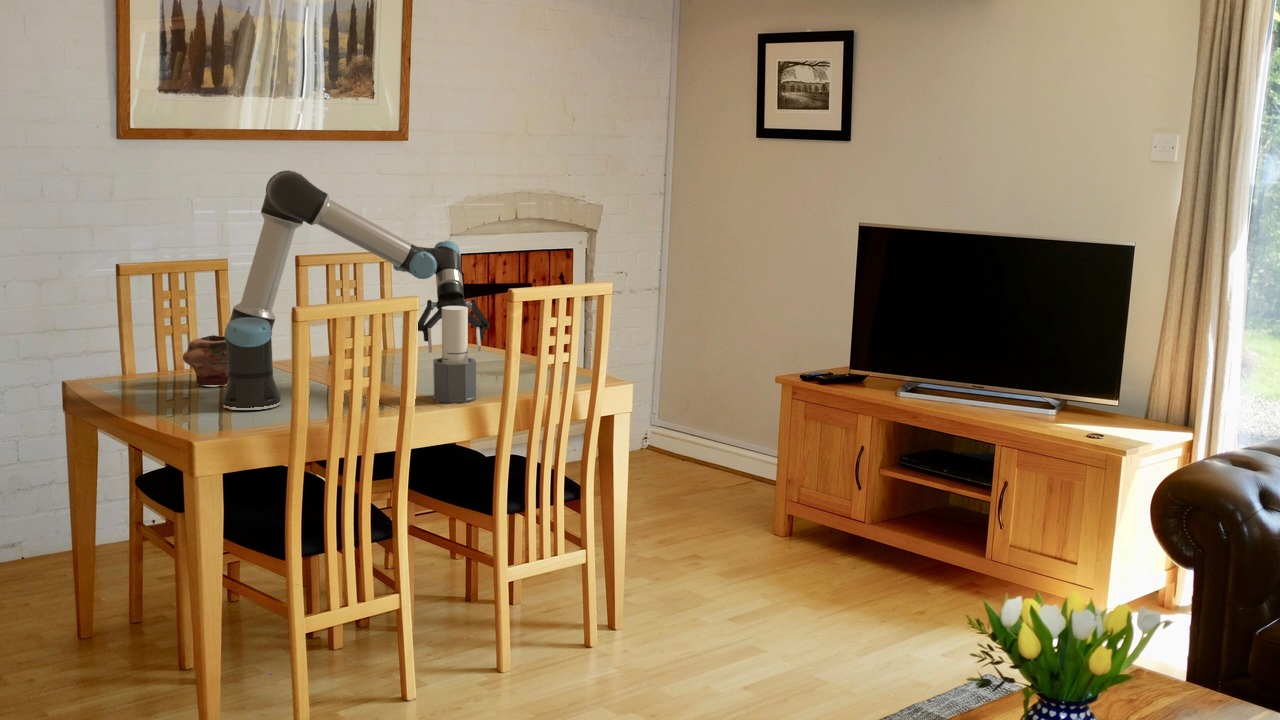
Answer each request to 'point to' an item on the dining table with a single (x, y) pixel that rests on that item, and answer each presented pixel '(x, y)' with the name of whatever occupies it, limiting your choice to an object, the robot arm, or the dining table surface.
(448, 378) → the holder sleeve
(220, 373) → the decorative planter
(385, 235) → the robot arm
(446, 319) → the cylindrical container
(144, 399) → the dining table surface
